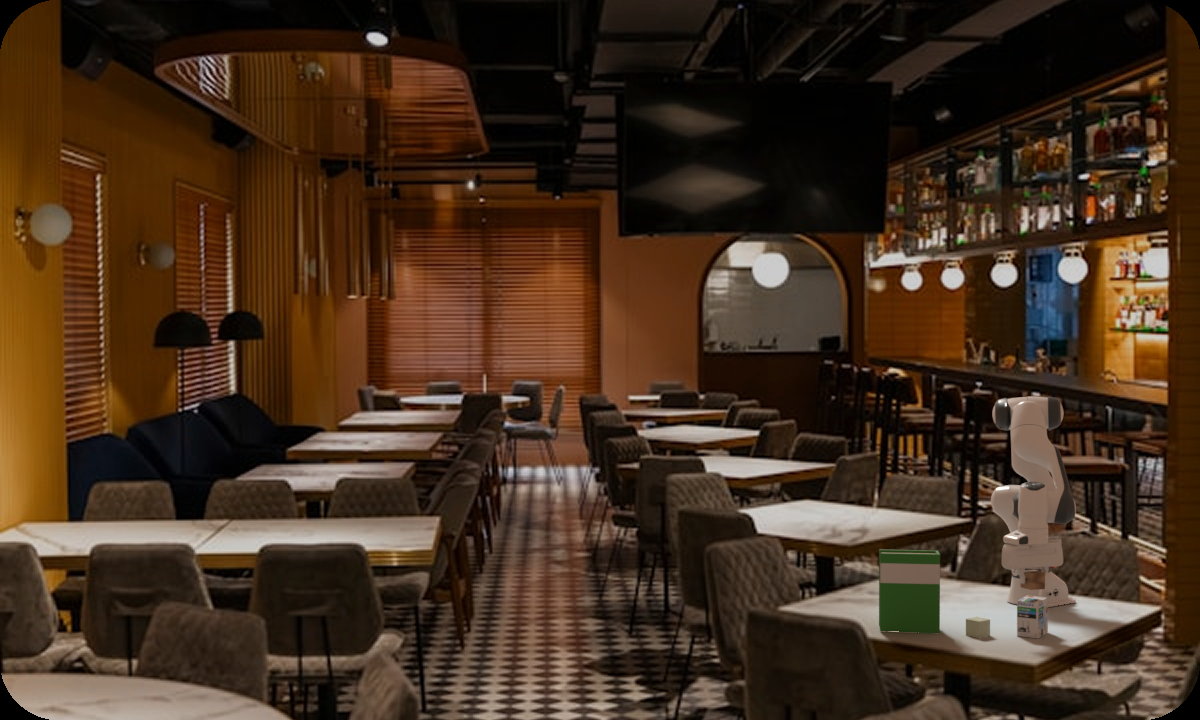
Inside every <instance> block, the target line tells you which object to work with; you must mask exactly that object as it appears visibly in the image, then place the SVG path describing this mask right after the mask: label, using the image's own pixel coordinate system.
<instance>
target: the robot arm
mask: <svg viewBox="0 0 1200 720" xmlns="http://www.w3.org/2000/svg"><path fill="white" fill-rule="evenodd" d="M991 413H992V414H991V415H992V420H993V423H994V424H995V427H996V428H998V430H1003V431H1007V432H1008V431H1010V448H1011V455H1010V456H1011V467H1012V469H1013V471H1014V472H1015V473H1016V475H1017V474H1018V475H1019V476H1020V477H1023V478H1024V479H1025V480H1026V481H1027V482H1024V483H1021V484H1020V485H1018V484H1008V485H1006V484H1005V485H1002V486H1001V485H1000V486H997V487H996V488H995V489H994V490H993V492H992V493H991V497H990V504H991V506H990V507H991V508H992V510H993V511H994V513H995V514H996V515H998V517H1000V518H1001V520H1003V521H1004V523H1005V524H1006V526H1007V528H1008V530H1009V533H1008V534H1006V535H1003V537H1002V541H1003V542H1004V544H1003V546H1002V549H1001V566H1002V567H1003V568H1004V569H1006V570H1009V571H1011V582H1010V587H1009V592H1008V597H1007V600H1006V601H1007V602H1008V603H1009V604H1010V603H1011V604H1013V605H1017V601H1018V600H1020V599H1022V598H1023V597H1025V596H1027V595H1028V596H1036V597H1045V598H1048V608H1050V607H1051V608H1053V607H1057V606H1058V605H1059V606H1063V605H1064V604H1065V605H1069V604H1070V603H1071V604H1076V603H1075V602H1076V598H1073V597H1071V596H1069V590H1068V586H1067V584H1066V582H1065V581H1064V580H1063V579H1061V578H1060V577H1058V576H1057V575H1056V574H1055V573H1054V572H1053V571H1052V569H1056V568H1057V567H1061V566H1062V565H1063V564H1064V552H1063V547H1062V545H1063V543H1062V542H1063V541H1062V539H1061V537H1059V536H1058V535H1057V534H1054V535H1049V524H1051V523H1052V524H1058V525H1067V524H1068V523H1070V522H1071V521H1072V520H1073V519H1074V518H1075V517H1076V512H1077V505H1076V501H1075V498H1074V496H1073V492H1072V490H1071V487H1070V483H1069V479H1068V475H1067V472H1066V468H1065V464H1064V461H1063V458H1062V454H1061V452H1060V450H1059V448H1058V447H1057V446H1055V445H1053V444H1052V443H1051V441H1050V439H1049V437H1048V431H1051V430H1054V429H1057V428H1058V427H1059V426H1061V424H1062V421H1063V419H1064V414H1065V413H1064V408H1063V405H1062V403H1061V400H1060V399H1058V398H1057V397H1053V396H1047V397H1045V396H1033V395H1031V396H1022V397H1021V396H1020V397H1011V398H1010V397H1009V398H1007V397H1004V398H1000V399H997V400H996V402H994V406H993V408H992V412H991ZM1025 570H1038V571H1042V572H1045V589H1038V590H1029V589H1025V588H1022V587H1021V583H1022V584H1025V583H1028V581H1027V580H1028V578H1027V577H1025V575H1024V573H1023V572H1025Z"/></svg>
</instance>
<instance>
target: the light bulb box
mask: <svg viewBox="0 0 1200 720" xmlns="http://www.w3.org/2000/svg"><path fill="white" fill-rule="evenodd" d="M1016 609H1017V610H1016V612H1017V613H1016V636H1017V637H1023V638H1031V639H1040V638H1042V637H1043V636H1046V635H1047V634H1048V633H1049V631H1048V630H1049V628H1048V627H1049V619H1048V618H1049V616H1048V615H1049V607H1048V598H1045V597H1036V596H1028V595H1027V596H1025V597H1023V598H1022V599H1020V600H1018V601H1017V604H1016ZM1047 632H1048V633H1047Z"/></svg>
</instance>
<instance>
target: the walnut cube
mask: <svg viewBox="0 0 1200 720" xmlns="http://www.w3.org/2000/svg"><path fill="white" fill-rule="evenodd" d="M1023 573H1024V575H1025V577H1027V578H1028V580H1027V581H1028V583H1025V584H1022V583H1021V587H1022V588H1025V589H1029V590H1038V589H1045V572H1042V571H1038V570H1025V572H1023Z"/></svg>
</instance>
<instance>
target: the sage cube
mask: <svg viewBox="0 0 1200 720" xmlns="http://www.w3.org/2000/svg"><path fill="white" fill-rule="evenodd" d="M965 636H969V637H972V636H973V638H977V637H978V638H977V639H981V638H980V637H982V638H986V637H985V636H987V637H991V619H989V618H985V617H979V616H973V617H968V618H965Z"/></svg>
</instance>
